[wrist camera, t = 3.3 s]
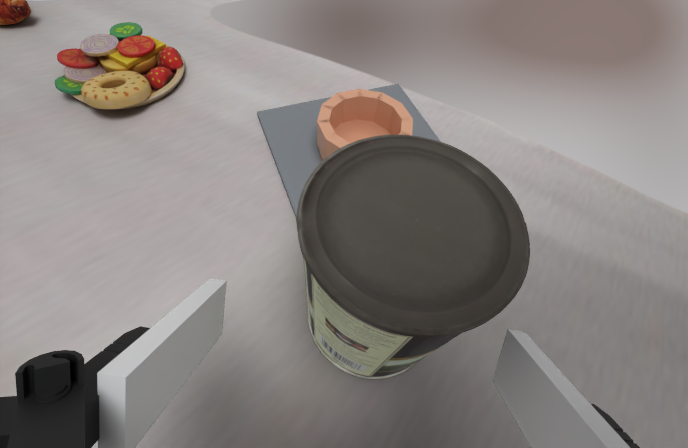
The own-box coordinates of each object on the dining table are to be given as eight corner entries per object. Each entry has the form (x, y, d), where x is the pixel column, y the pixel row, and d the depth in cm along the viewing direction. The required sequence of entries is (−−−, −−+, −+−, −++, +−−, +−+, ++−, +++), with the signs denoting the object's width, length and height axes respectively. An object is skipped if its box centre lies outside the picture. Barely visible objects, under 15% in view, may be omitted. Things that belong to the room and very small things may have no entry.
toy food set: (120, 134, 35) (102, 109, 32) (40, 87, 38) (18, 60, 35) (210, 73, 41) (202, 47, 38) (136, 36, 44) (123, 10, 41)
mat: (397, 87, 42) (398, 84, 41) (475, 195, 33) (477, 192, 33) (257, 115, 37) (256, 111, 37) (307, 247, 29) (307, 245, 28)
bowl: (381, 113, 38) (387, 83, 35) (418, 170, 34) (429, 142, 30) (307, 130, 36) (306, 99, 32) (336, 193, 32) (339, 165, 28)
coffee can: (432, 261, 29) (513, 147, 17) (433, 389, 24) (553, 355, 12) (318, 244, 29) (319, 119, 17) (293, 367, 24) (269, 311, 12)
